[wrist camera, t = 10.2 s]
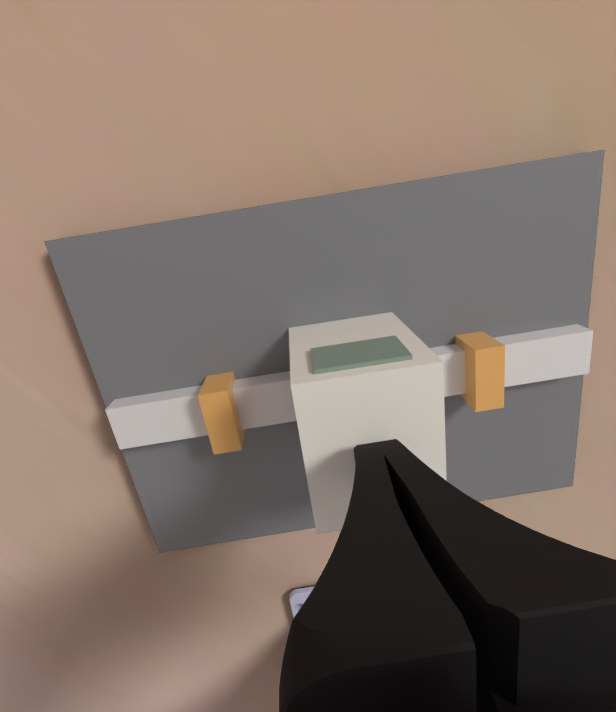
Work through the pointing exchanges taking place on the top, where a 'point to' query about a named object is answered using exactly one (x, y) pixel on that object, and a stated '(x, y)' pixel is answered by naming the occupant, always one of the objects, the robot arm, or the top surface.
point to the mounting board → (331, 303)
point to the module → (362, 402)
